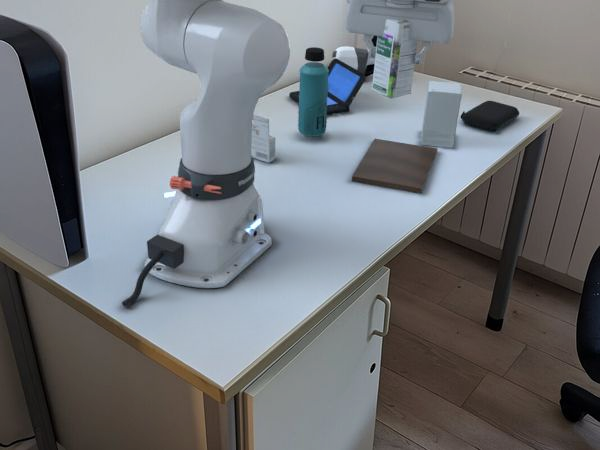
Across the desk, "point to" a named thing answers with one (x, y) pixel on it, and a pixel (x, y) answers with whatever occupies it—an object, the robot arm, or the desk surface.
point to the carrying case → (490, 116)
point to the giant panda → (354, 57)
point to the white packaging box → (441, 114)
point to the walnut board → (396, 165)
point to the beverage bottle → (313, 94)
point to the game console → (340, 87)
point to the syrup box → (394, 60)
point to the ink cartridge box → (262, 140)
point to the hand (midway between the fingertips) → (395, 60)
